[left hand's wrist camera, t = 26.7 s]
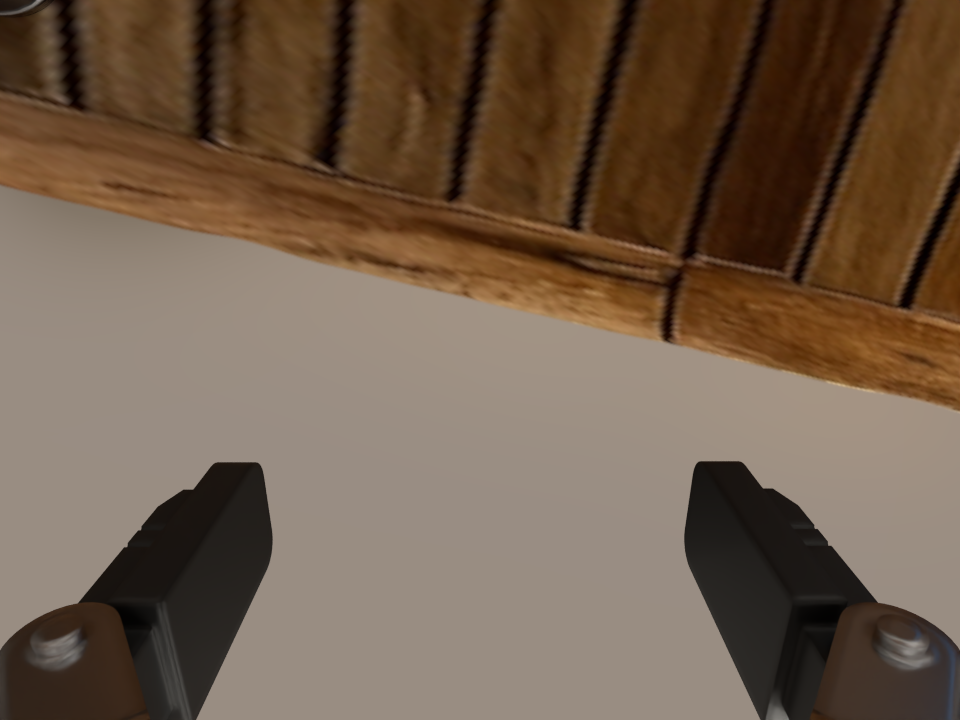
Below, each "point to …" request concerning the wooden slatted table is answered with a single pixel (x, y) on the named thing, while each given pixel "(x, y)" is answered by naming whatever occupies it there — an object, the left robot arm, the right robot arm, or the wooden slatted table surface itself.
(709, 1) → the wooden slatted table surface
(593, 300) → the wooden slatted table surface
